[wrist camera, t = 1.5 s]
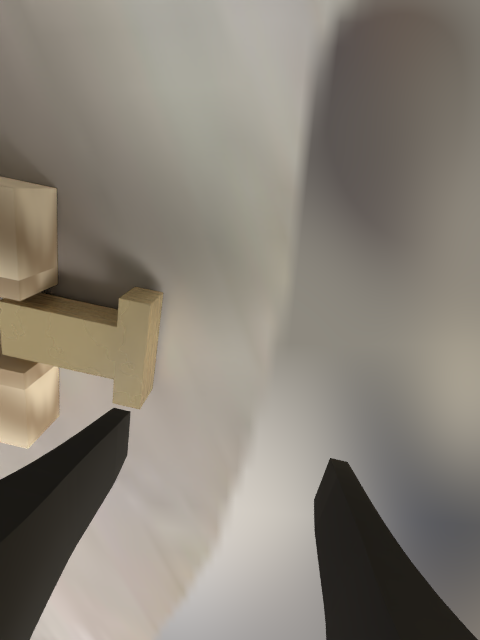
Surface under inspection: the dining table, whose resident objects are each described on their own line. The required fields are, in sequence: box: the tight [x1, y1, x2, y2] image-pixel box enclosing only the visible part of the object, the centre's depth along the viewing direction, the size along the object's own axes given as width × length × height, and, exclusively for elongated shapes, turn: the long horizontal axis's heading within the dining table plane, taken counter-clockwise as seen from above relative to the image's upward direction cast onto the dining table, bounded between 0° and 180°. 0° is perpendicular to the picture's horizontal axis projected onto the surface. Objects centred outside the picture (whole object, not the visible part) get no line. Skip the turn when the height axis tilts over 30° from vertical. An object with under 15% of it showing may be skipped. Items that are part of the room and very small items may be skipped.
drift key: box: [0, 287, 163, 409], centre depth 18 cm, size 6×8×2 cm
